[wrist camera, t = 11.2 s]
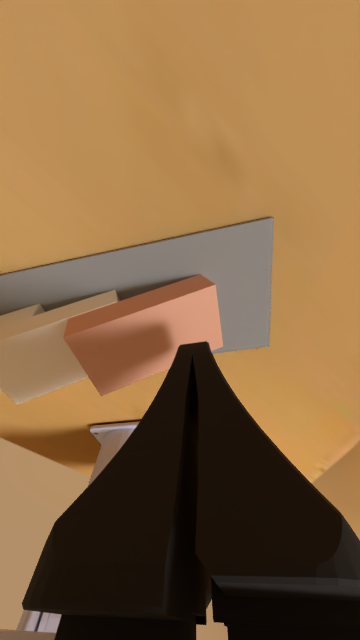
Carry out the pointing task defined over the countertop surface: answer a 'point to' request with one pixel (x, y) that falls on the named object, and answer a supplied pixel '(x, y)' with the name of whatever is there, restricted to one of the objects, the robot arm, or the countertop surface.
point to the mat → (166, 277)
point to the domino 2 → (144, 332)
